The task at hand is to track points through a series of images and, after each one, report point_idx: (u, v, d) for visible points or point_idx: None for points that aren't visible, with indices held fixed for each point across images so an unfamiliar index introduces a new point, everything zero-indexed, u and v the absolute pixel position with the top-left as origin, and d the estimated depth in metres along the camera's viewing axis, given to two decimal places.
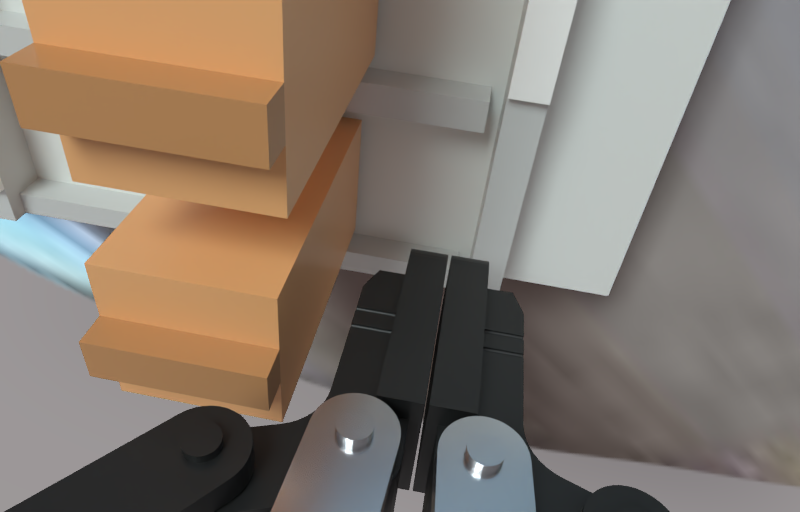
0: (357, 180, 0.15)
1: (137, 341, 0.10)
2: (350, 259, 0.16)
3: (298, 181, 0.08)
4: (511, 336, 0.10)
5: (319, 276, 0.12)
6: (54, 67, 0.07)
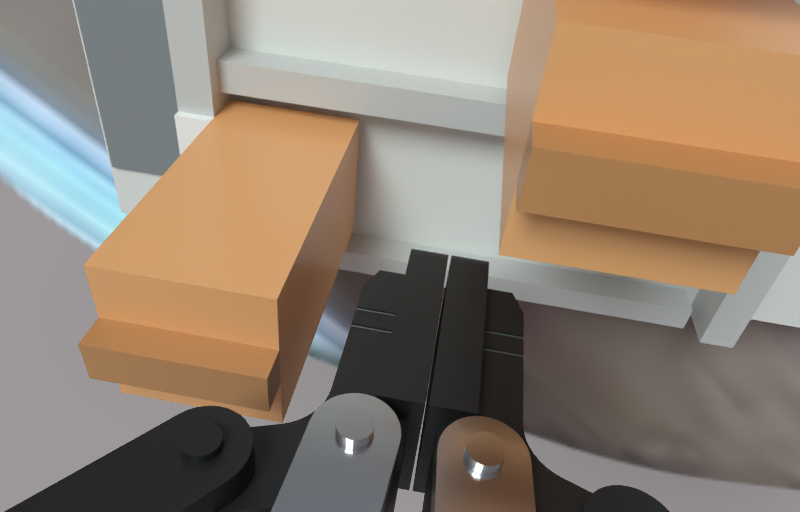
0: (355, 180, 0.15)
1: (137, 343, 0.10)
2: (579, 299, 0.15)
3: None
4: (511, 336, 0.10)
5: (318, 276, 0.12)
6: (586, 152, 0.06)
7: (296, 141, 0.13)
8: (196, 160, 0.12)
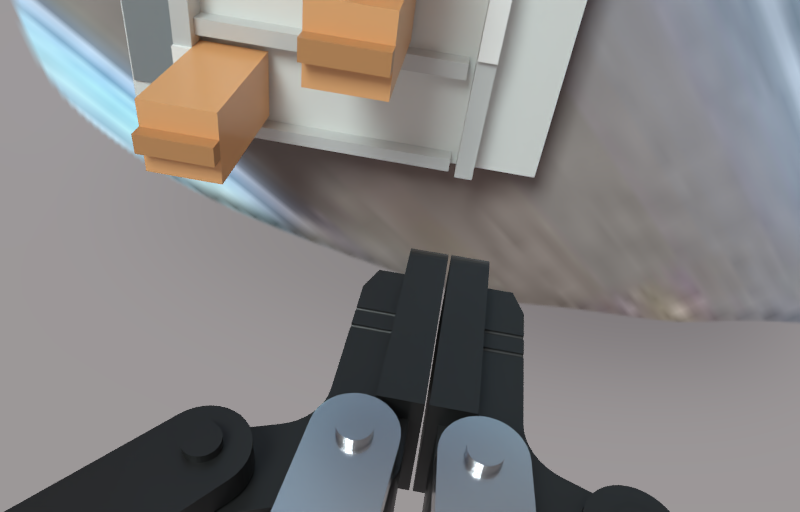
0: (268, 86, 0.27)
1: (156, 135, 0.22)
2: (391, 154, 0.28)
3: (392, 88, 0.21)
4: (511, 336, 0.10)
5: (242, 123, 0.25)
6: (315, 39, 0.19)
7: (233, 59, 0.26)
8: (182, 64, 0.25)
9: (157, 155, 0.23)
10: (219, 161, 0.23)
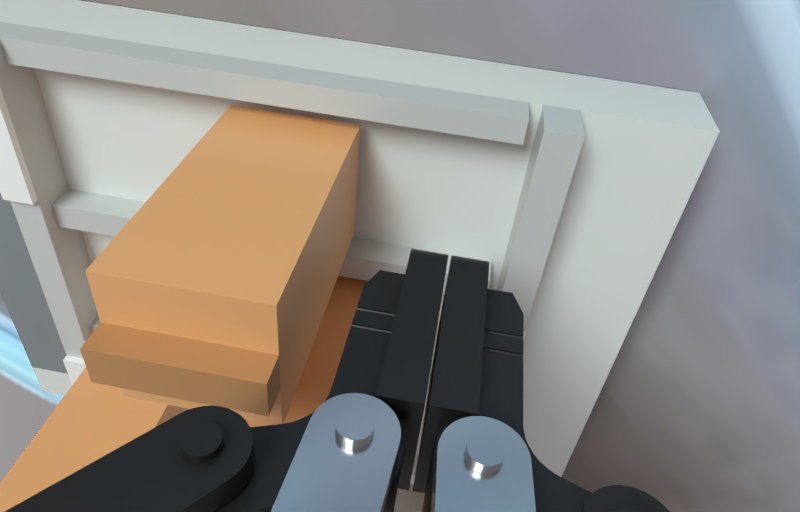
0: None
1: None
2: None
3: None
4: (511, 336, 0.10)
5: None
6: None
7: None
8: (69, 407, 0.18)
9: None
10: None
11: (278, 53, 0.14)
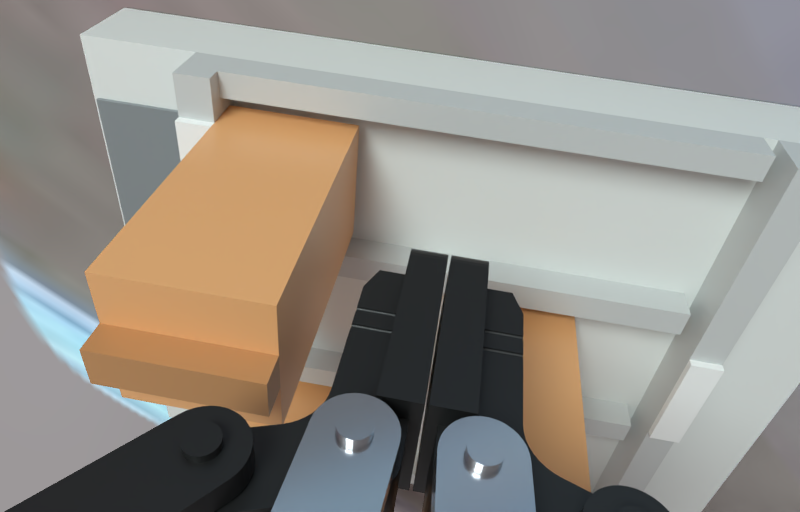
0: None
1: None
2: None
3: None
4: (511, 336, 0.10)
5: None
6: None
7: (300, 413, 0.19)
8: None
9: None
10: None
11: (493, 86, 0.14)
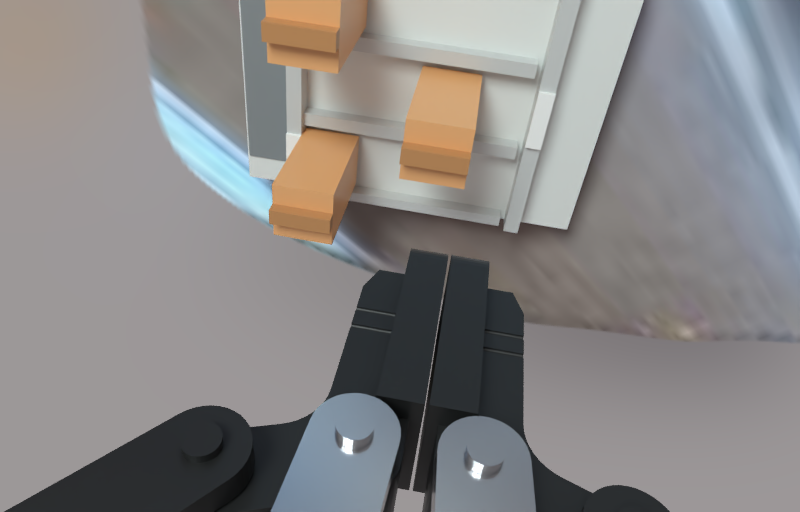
0: (357, 161, 0.35)
1: (287, 210, 0.30)
2: (453, 213, 0.36)
3: None
4: (511, 336, 0.10)
5: (343, 195, 0.32)
6: (414, 149, 0.27)
7: (334, 144, 0.33)
8: (298, 151, 0.32)
9: (286, 225, 0.30)
10: (331, 228, 0.31)
11: None
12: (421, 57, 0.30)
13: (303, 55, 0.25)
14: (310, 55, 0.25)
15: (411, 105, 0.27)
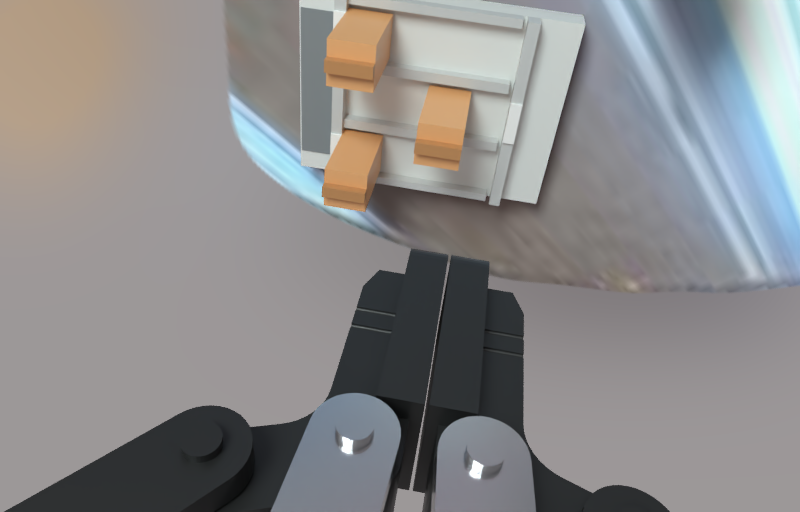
0: (381, 153, 0.48)
1: (334, 187, 0.43)
2: (451, 191, 0.48)
3: None
4: (511, 336, 0.10)
5: (372, 177, 0.45)
6: (423, 143, 0.40)
7: (365, 141, 0.46)
8: (340, 146, 0.45)
9: (334, 197, 0.43)
10: (365, 200, 0.43)
11: (438, 0, 0.41)
12: (428, 79, 0.43)
13: (350, 81, 0.38)
14: (355, 81, 0.38)
15: (421, 113, 0.40)
